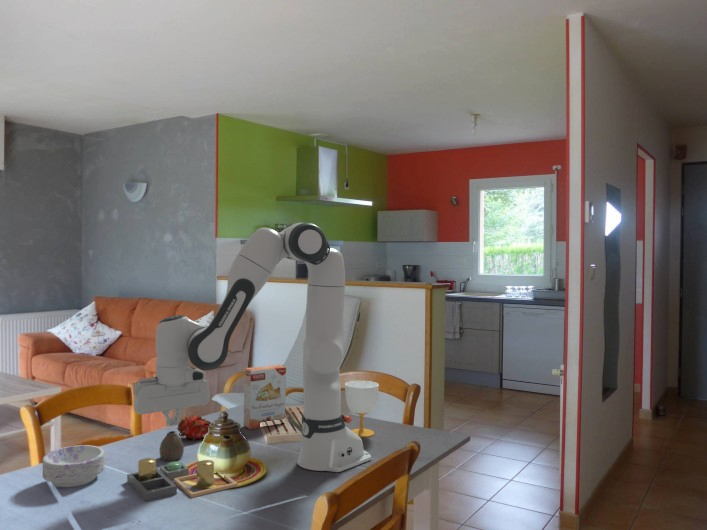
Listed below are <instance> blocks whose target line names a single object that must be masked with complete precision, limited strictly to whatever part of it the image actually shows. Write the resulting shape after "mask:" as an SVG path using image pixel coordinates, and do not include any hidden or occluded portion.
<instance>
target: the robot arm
mask: <svg viewBox="0 0 707 530" xmlns="http://www.w3.org/2000/svg"><path fill="white" fill-rule="evenodd" d="M283 259H289V260H291V261H296V262H303V263H305V265H306V267H307V272H308V277H307V286H306V287H307V289H306V306H305V307H306V309H305V317H306V318H305V338H304V341H303V344H302V374H303V377H302V378H303V380H302V381H303V383H302V384H303V410H302V414H301V435H302V436H301V445H300V449H299V454H298V458H297V463H296V464H297V465H298V466H299V467H301V468H303V469H306V470H310V471H315V472H316V471H319V472H324V471H326V472H333V473H339V472H340V473H341V472H344V471H345V470H349V469H351V468H353V467H356V466H359V465H361V464H364V463H366V462H368V461H371V460H372V456H371V453H369V452H368V451H367V450H364V444H363V440H362V437H359V436H358V435H357V434H355V433H354V432H353V431H351V430H352V429H351V428H349V427H347V426H346V424H345V423H347V424H351V423H352V422H353V421H352V420H353V418H352V417H351V416H349V415H344V414H342V413H341V401H342V400H341V399H342V398H341V397H342V396H341V395H342V393H341V392H342V389H341V388H342V387H341V375H340V374H341V373H340V366H341V364H342V362H343V360H344V347H345V346H344V342H345V341H344V340H345V338H344V337H345V335H344V334H345V333H344V332H345V331H344V328H345V327H344V326H345V325H344V323H345V322H344V321H345V320H344V319H345V317H344V307H345V294H346V293H345V292H346V291H345V290H346V269H345V260H344V256H343V253H342V252H341V251H339V250H338V249H335V248H333V247H331V246H330V244H329V243H328V240H327V237H326V235H325V233H324V231H323V230H322V229H321V227H320V226H318V225H317V224H314V223H311V222H296V223H293V224H290V225H288V226H286V227H284V228H282V229H280V230H278V231H276V230H275V229H272V228H269V227H259V228H258V229H256V230H255V231H254V232H253V234H251V236H250V237H249V238H248V239H247V240H246V242H245V243H244V244H243V246H241V249H239V251H238V253H237V255H236V256H235V258H234V260H233V261H232V263H231V267H230V269H229V270H228V274H227V285H226V286H227V287H226V293H225V296H224V299H223V301H222V303H221V304H220V306H219V308H218V310H217V311H216V313H215V315H214V316H213V318H212V320H211V321H210V323H209V325H205V324H201V323H198V322H196V321H194V320H192V319H190V318H189V317H188V316H186V315H184V314H177V315H176V314H175V315H171V316H167V317H164V318H162V319H161V320H160V321H159V322H158V324H157V326H156V332H155V351H156V357H157V358H156V361H155V376H153V377H148V378H147V377H146V378H140V379H139V380H137V381H136V382H135V383H134V385H133V394H134V401H133V410H134V412H135V413H136V414H138V415H140V416H141V415H148V414H154V413H159V412H161V413H162V415H163V416H164V418H165V419H166V427H173V426H178V425H179V423H180V418H181V417H182V415H183V414H184V409H185V408H192V407H193V408H194V407H199V406H205V405H208V403H209V402H210V399H211V396H210V386H209V383H208V381H207V380H206V379H207V376H208V375H207V372H206V371H211V370H212V371H213V370H214V369H217V368H219V367H220V366H221V365H223V363H224V362H225V361H226V359H227V357H228V352H229V344H230V341H231V340H230V339H231V337H232V335H233V332H234V331H235V329H236V327H237V325H238V324H239V322H240V320H241V319H242V317H243V315H244V313H245V312H246V310H247V308H248V306H249V305H250V303H252V301H253V300H254V299H255V297H256V296H257V295H258V293H259V292H260V291H261V290H262V289H263V288H264V286H265V285H266V283H267V282H268V280H269V279H270V278H271V276H272V274H273V272H274V270H276V266H277V265H279V263H280V262H281V261H282V260H283ZM190 362H191V364H192V365H193V366H195V367H190ZM173 410H175V412H176V413H175V415H174V417H170V416H169V415H170V414H171V411H173Z"/></svg>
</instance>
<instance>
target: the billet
mask: <svg viewBox="0 0 707 530" xmlns="http://www.w3.org/2000/svg"><path fill="white" fill-rule="evenodd" d="M214 469H215V462H214V461H213V460H210V459H204V460H200V461H199V460H198V462H197V463H196V473H197V478H196V486H197V487H199V488H210V487H212V486H214V484H215V474H214Z"/></svg>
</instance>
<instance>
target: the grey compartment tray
mask: <svg viewBox="0 0 707 530" xmlns="http://www.w3.org/2000/svg"><path fill="white" fill-rule="evenodd" d="M126 478H127V479H126V482H127V483H128V485H129V486H130V487H131V488H132V489H133V490H134V491H135V492H136V493H137V494H138V495H139V497H140V498H141V499H142V500H143V501H144V502H148V501H149V502H150V501H154V500H158V499H162V498H166V497H169V496H175V495H177V493H178V485H177V484H176V483H175V482H174V481H172V480H170V479H169V478H167V477H166V476H165V475H164V474H163V473H162V472H161V471H160V468H159V469H158V468H157V467H156V478H155V479H151V480H146V481H142V482H139V481H138V471H137V472H132V473H128V474H126Z"/></svg>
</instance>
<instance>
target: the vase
mask: <svg viewBox="0 0 707 530" xmlns="http://www.w3.org/2000/svg"><path fill="white" fill-rule="evenodd" d="M184 452H185V446H184V443H183V440H182V438H181V436H179V434H178V433H177V431H175V430H170V431H168V432H167V434H166V435H165V437H164V438H163V439H162V441H161V443H160V445H159V457H160V459H161V460H162V461H163V462H168V463H170V462H178V461H179V460H181V459H182V458H183V456H184Z"/></svg>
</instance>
